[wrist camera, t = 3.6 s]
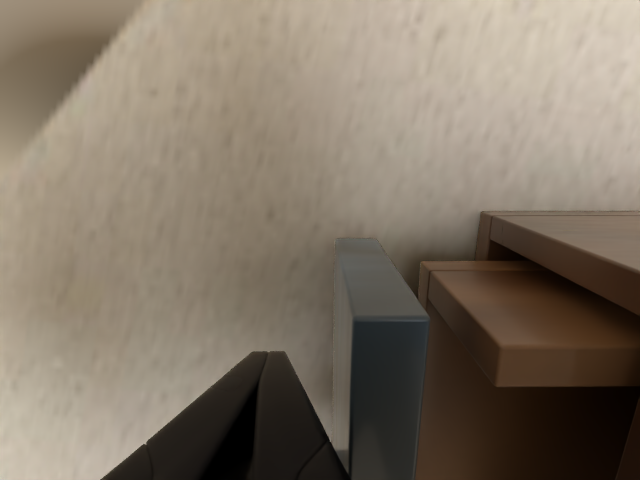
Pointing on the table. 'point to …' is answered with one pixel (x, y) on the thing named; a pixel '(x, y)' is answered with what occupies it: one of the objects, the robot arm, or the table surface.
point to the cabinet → (576, 265)
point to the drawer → (477, 371)
